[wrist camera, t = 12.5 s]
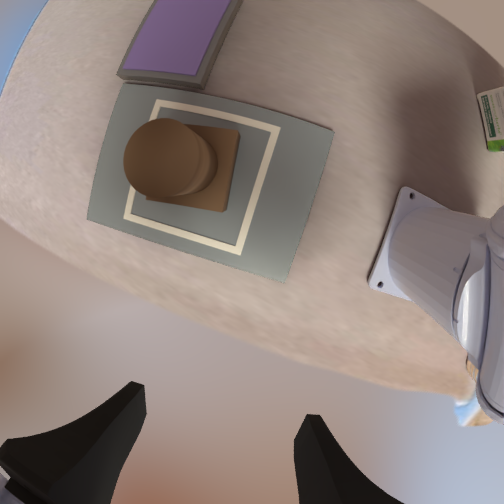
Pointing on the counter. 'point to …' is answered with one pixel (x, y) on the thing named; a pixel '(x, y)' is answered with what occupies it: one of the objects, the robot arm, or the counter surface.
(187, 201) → the stamp
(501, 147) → the syrup box
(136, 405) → the robot arm
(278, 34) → the counter surface
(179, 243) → the board
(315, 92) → the counter surface
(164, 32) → the ink pad
